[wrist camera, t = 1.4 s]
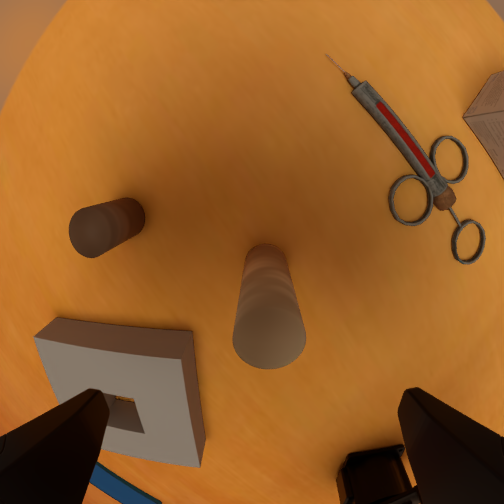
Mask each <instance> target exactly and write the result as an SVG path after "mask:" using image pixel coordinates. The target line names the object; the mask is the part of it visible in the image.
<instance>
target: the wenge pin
mask: <svg viewBox="0 0 504 504" xmlns="http://www.w3.org/2000/svg"><path fill="white" fill-rule="evenodd" d="M144 222H145V214H144V211H143V208H142V207H141V205H140V204H139V203H138V202H137V201H136V200H134V199H131V198H122V199H118V200H113V201H109V202H105V203H101V204H97V205H93V206H90V207H86V208H82V209H80V210H78V211H77V212H76V213H75V214H74V215H73V216H72V218H71V221H70V224H69V237H70V240H71V243H72V245H73V247H74V248H75V249H76V251H77V252H78V253H80V254H81V255H83V256H85V257H88V258H95V257H98V256H100V255H102V254H103V253H105V252H107V251H109V250H110V249H112V248H114V247H116V246H117V245H119V244H121V243H123V242H124V241H126V240H128V239H130V238H131V237H133V236H135V235H137V234H138V233H139V232H140V231H141V230H142V228H143V226H144Z"/></svg>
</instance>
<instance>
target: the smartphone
mask: <svg viewBox="0 0 504 504" xmlns="http://www.w3.org/2000/svg"><path fill="white" fill-rule="evenodd" d="M90 483H91V484H93V485H94V486H96V487H97V488H98V489H100V490H101V491H103V492H104V493H106V494H108V495H109V496H111V497H112V498H114V499H115V500H117V501H119V502H120V503H122V504H162V502H161V501H159V500H157V499H156V498H154V497H152V496H150V495H149V494H147V493H145V492H144V491H142V490H140V489H138V488H137V487H135V486H133V485H132V484H130V483H129V482H127V481H125V480H124V479H122V478H121V477H119V476H118V475H116V474H115V473H113V472H112V471H110V470H109V469H107V468H106V467H104V466H103V465H102V464H100V463H99V462H96V465H95V468H94V471H93V473H92V476H91V479H90Z"/></svg>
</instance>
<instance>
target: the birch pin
mask: <svg viewBox="0 0 504 504" xmlns="http://www.w3.org/2000/svg"><path fill="white" fill-rule="evenodd" d="M305 343H306V332H305V328H304V324H303V320H302V317H301V313H300V309H299V305H298V302H297V298H296V294H295V291H294V287H293V283H292V280H291V276H290V272H289V269H288V265H287V262H286V258H285V256H284V254H283V252H282V251H281V250H280V249H279V248H277V247H276V246H274V245H270V244H261V245H258V246H256V247H254V248H253V249H251V250H250V251H249V253H248V254H247V256H246V259H245V265H244V271H243V277H242V283H241V289H240V295H239V301H238V307H237V313H236V319H235V326H234V332H233V345H234V349H235V351H236V353H237V354H238V356H239V357H240V358H241V359H242V360H243V361H245V362H246V363H248V364H249V365H251V366H254V367H257V368H261V369H276V368H280V367H283V366H286V365H288V364H290V363H291V362H293V361H294V360H295V359H297V358H298V356H299V355H300V354H301V353H302V351H303V349H304V346H305Z"/></svg>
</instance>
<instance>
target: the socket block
mask: <svg viewBox="0 0 504 504" xmlns="http://www.w3.org/2000/svg"><path fill="white" fill-rule="evenodd" d="M34 340H35V343H36V346H37V349H38V352H39V355H40V358H41V361H42V363H43V366H44V369H45V371H46V374H47V376H48V379H49V381H50V384H51V386H52V388H53V391H54V393H55V395H56V398H57V400H58V402H59V404H62V403H64V402H65V401H67V400H69V399H71V398H73V397H74V396H76V395H78V394H80V393H81V392H83V391H85V390H87V389H89V388H93V389H98V390H101V391H102V392H103V394H104V397H105V399H106V402H107V404H108V407H109V410H110V416H109V420H108V423H107V427H106V431H105V435H104V439H103V443H102V447H101V449H103V450H107V451H111V452H115V453H119V454H123V455H127V456H132V457H136V458H141V459H146V460H151V461H157V462H162V463H169V464H175V465H182V466H190V467H199V468H200V467H201V461H202V456H203V451H204V446H205V440H206V438H205V431H204V425H203V418H202V411H201V404H200V396H199V388H198V380H197V372H196V363H195V354H194V344H193V334H192V331H178V330H164V329H151V328H140V327H130V326H120V325H111V324H102V323H94V322H86V321H79V320H72V319H65V318H58V317H56V318H55V319H54V320H53V321H51V322H50V323H49V324H48V325H47V326H45V327H44V328H43V329H42V330H41V331H40V332H38V333H37V334H36V335H35V336H34ZM114 395H117V396H122V397H128V398H133V399H134V401H135V403H134V402H129V401H123V400H118V399H115V396H114Z"/></svg>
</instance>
